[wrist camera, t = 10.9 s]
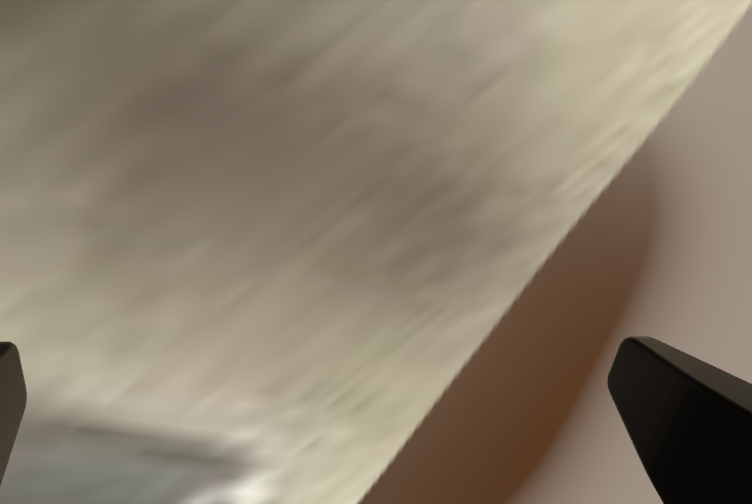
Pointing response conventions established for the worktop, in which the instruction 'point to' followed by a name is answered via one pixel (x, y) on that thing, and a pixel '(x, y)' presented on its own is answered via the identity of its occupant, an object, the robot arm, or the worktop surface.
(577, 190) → the worktop surface
